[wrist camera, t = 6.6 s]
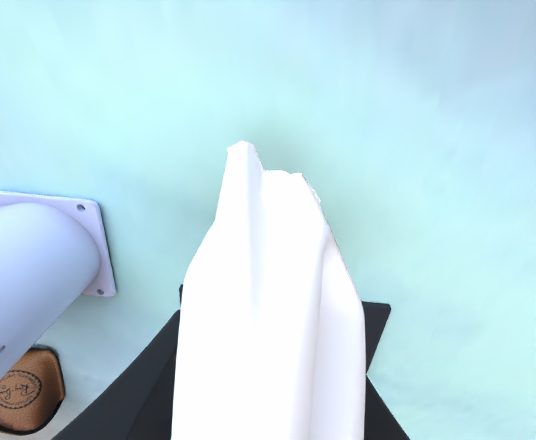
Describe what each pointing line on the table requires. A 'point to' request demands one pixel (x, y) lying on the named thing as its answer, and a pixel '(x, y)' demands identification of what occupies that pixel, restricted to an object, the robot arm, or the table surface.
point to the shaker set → (269, 318)
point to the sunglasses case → (30, 393)
